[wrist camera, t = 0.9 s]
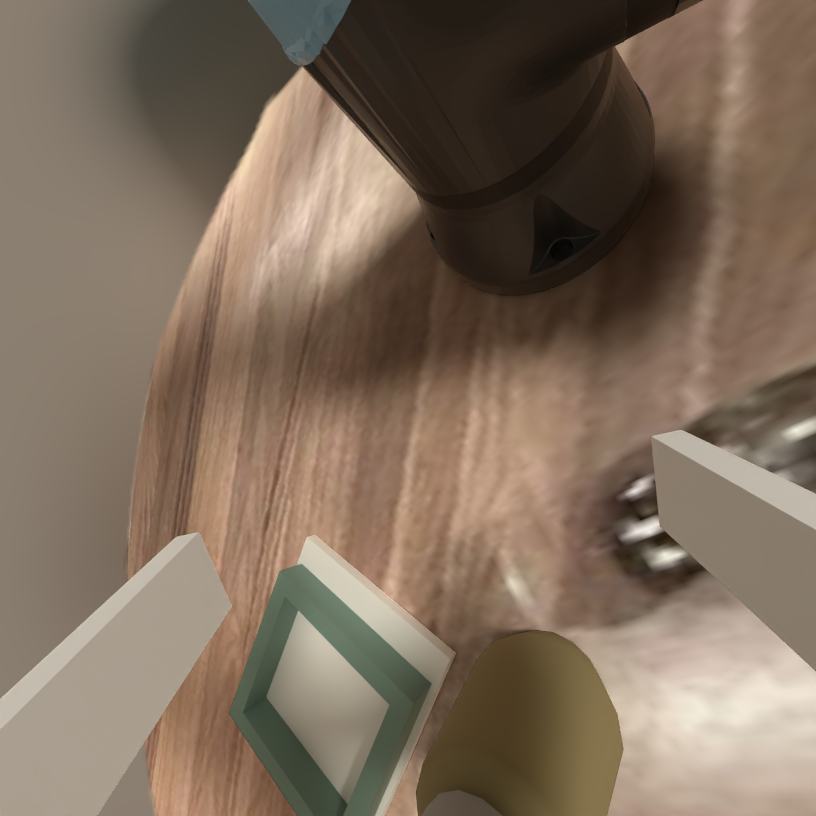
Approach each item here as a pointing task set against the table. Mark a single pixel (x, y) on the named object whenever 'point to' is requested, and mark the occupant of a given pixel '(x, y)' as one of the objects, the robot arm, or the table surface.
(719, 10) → the table surface
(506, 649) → the squeeze bottle
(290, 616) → the collar stand
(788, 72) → the table surface
